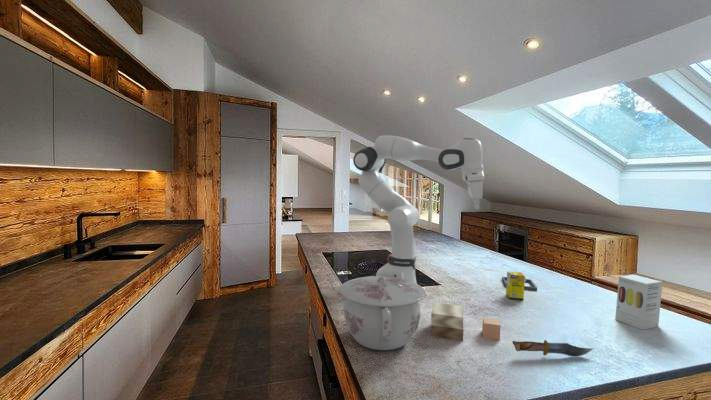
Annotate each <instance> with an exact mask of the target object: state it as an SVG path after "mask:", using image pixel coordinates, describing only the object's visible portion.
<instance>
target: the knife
mask: <svg viewBox="0 0 711 400" xmlns="http://www.w3.org/2000/svg"><path fill="white" fill-rule="evenodd" d="M511 342H512V344H513V347H514V348H515V349H514V350H515V352H521V351H522V352H542V355H543V356H547V355H548V354H561V355H565V356H569V357H574V358H575V357H581V356H584V355H587V354H588V353H590V352H591V351H592V350H593V348H589V347H580V346H575V345H572V344H570V343H568V342H548V341H547V340H546V339H544V340H543V342H539V341H525V340H523V341H516V340H512V341H511Z"/></svg>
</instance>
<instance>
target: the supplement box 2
mask: <svg viewBox="0 0 711 400" xmlns="http://www.w3.org/2000/svg"><path fill="white" fill-rule="evenodd" d="M617 285H618V286H617V294H616V295H617V296H616V305H615V308H616V309H615V319H614V320H617V321H619V322H621V323H624V324H626V325H629V326H632V327H635V328H637V329H640V330H641V331H644V330H648V329H653V328H657V327H659V324H660V323H659V322H660V312H661V301H662V290H663V281H661V280H657V279H652V278H649V277H646V276H645V277H644V276H641V275H637V274H628V275H620V276H618V283H617Z"/></svg>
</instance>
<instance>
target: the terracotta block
mask: <svg viewBox="0 0 711 400" xmlns="http://www.w3.org/2000/svg"><path fill="white" fill-rule="evenodd" d="M481 330H482V331H481V332H482V335H483V336H482V337H483V339H490V340H498V341H500V340H501V322H500V320H499V318H493V317H485V316H483V317H482V328H481Z"/></svg>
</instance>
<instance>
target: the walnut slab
mask: <svg viewBox="0 0 711 400" xmlns="http://www.w3.org/2000/svg"><path fill="white" fill-rule="evenodd" d="M430 330H431V336H430V337H435V338H440V339H447V340H453V341H459V342H464V329H463V330H462V329H455V328H448V327H441V326H434V325H431V329H430Z"/></svg>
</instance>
